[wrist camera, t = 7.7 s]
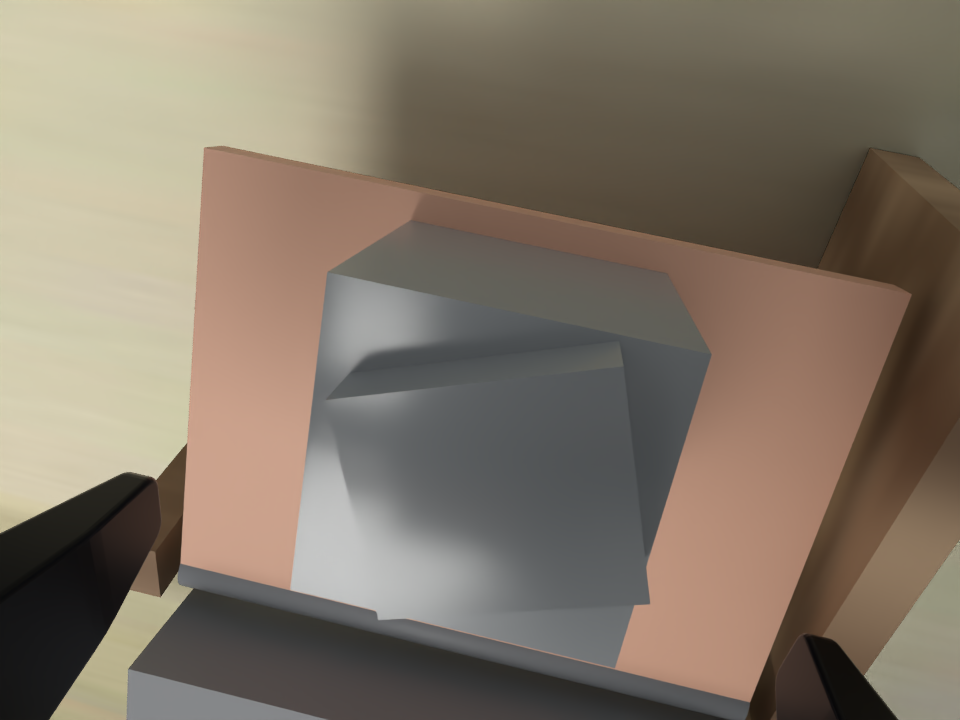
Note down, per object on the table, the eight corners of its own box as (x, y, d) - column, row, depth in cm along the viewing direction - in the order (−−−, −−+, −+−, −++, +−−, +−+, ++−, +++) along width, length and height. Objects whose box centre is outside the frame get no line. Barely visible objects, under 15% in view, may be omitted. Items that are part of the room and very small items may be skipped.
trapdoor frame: (694, 629, 28) (719, 879, 20) (260, 525, 29) (138, 728, 21) (919, 157, 18) (1116, 316, 11) (255, 26, 19) (32, 93, 12)
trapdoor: (671, 768, 21) (697, 954, 16) (221, 655, 22) (124, 802, 17) (855, 264, 16) (969, 325, 11) (264, 142, 17) (143, 152, 12)
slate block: (604, 500, 16) (618, 720, 10) (375, 448, 16) (263, 633, 10) (667, 273, 14) (726, 382, 8) (411, 220, 14) (298, 289, 9)
